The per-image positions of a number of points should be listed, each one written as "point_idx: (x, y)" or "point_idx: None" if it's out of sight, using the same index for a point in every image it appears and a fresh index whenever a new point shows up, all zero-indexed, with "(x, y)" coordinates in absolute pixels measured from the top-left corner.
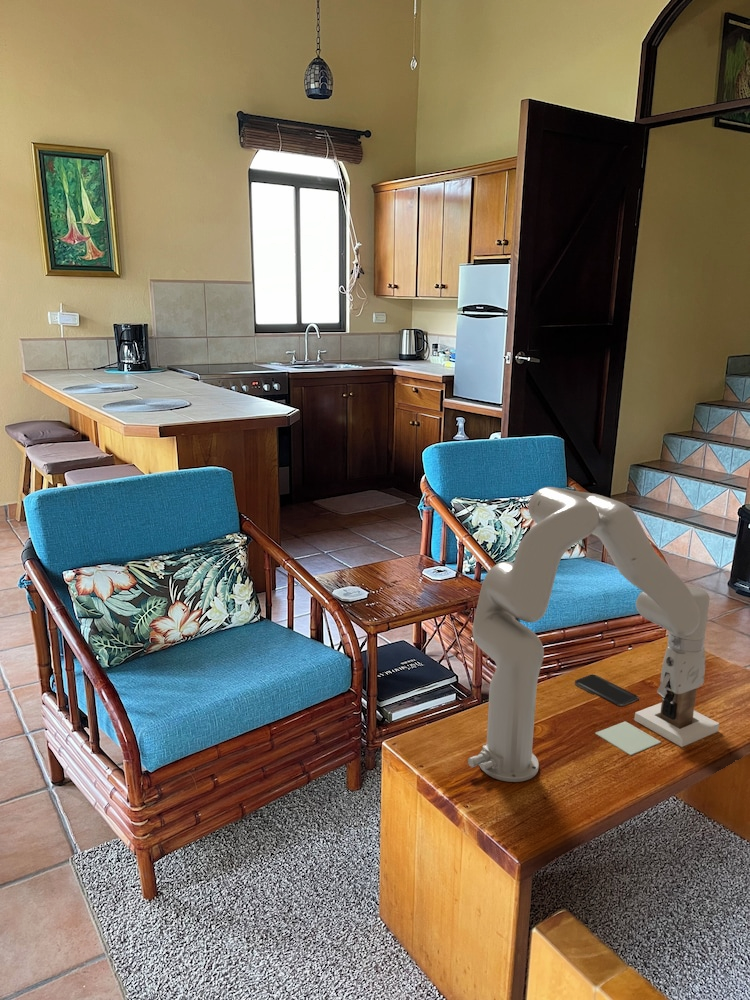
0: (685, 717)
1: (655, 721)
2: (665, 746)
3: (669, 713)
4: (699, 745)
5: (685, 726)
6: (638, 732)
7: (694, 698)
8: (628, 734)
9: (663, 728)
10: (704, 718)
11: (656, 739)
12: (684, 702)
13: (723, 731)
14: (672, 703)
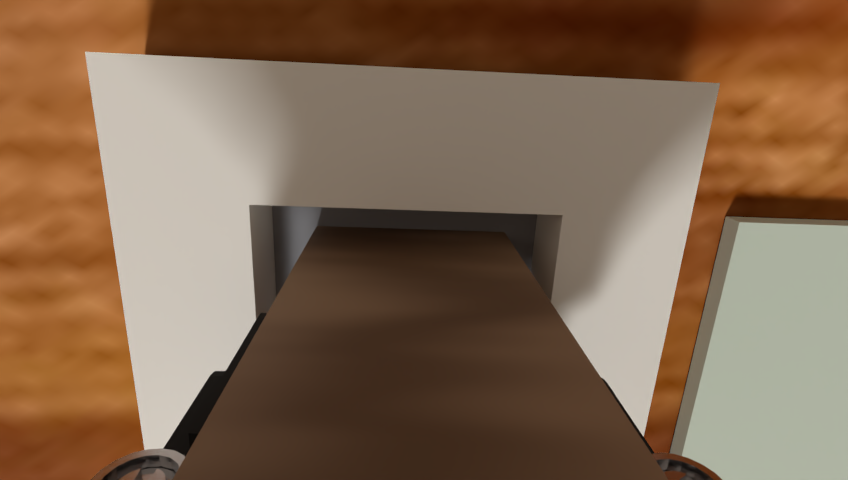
0: (428, 278)
1: (621, 400)
2: (726, 177)
3: (607, 387)
4: (487, 24)
5: (405, 240)
6: (742, 386)
7: (242, 401)
8: (817, 403)
9: (669, 300)
10: (159, 205)
11: (734, 261)
12: (530, 402)
13: (72, 42)
14: (712, 472)
